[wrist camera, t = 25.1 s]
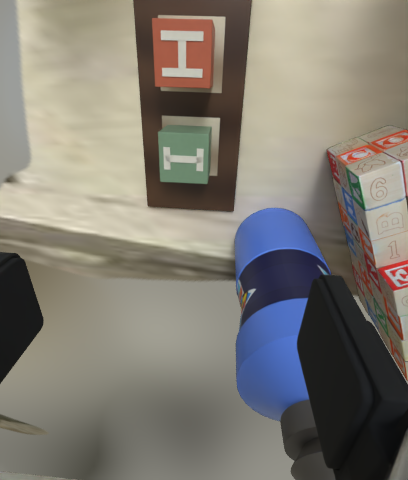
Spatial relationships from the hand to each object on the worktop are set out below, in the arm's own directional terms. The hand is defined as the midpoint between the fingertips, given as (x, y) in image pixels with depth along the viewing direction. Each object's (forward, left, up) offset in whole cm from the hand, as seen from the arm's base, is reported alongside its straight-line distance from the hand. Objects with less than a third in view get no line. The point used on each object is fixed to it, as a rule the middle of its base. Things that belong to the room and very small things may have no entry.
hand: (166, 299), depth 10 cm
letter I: (0, -2, -24) cm, 24 cm away
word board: (-3, -2, -24) cm, 25 cm away
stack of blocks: (+8, +19, -24) cm, 32 cm away
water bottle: (+11, +8, -24) cm, 28 cm away
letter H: (-8, -2, -24) cm, 25 cm away
